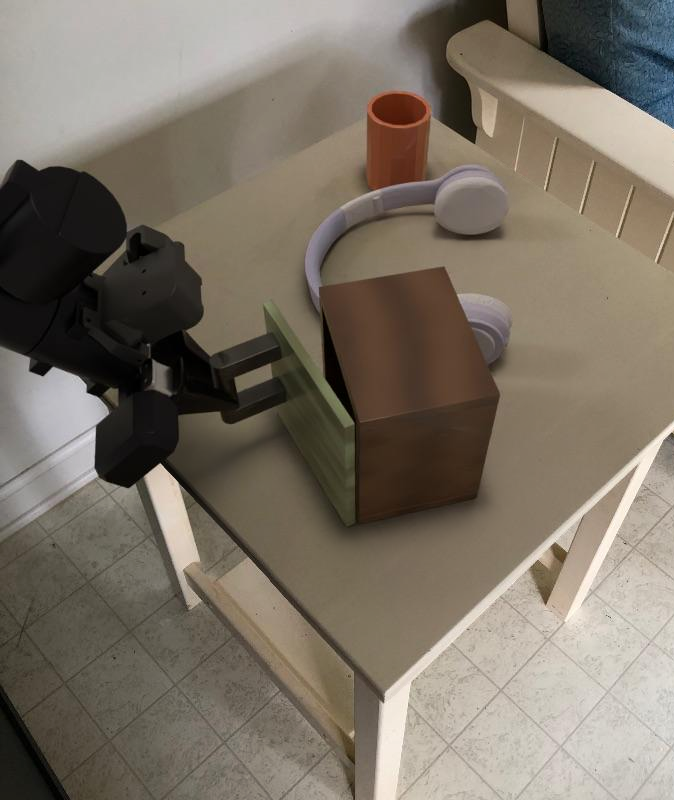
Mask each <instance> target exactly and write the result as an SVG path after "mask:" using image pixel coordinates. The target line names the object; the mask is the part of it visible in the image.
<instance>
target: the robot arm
mask: <svg viewBox="0 0 674 800" xmlns="http://www.w3.org/2000/svg"><path fill="white" fill-rule="evenodd" d="M124 242H125V250H124V251H123V252H122V253H121V254H120V255H119V256H118V258H116V260H114V262H113V263H112V264H111V265H110V266H108V268H107V269H106V270H105V271H104V272H103V273H102V274H97V273H95V272H94V271H96V270H97V269H99V267H100V266H101V265H103V264H104V263H105V262H106V261H107V260H108V259H109V258H110V257H111V256H112V255H114V254H115V252H117V251H118V250H119V249H121V247H122V246H123V244H124ZM185 250H186V248H185V244H184V243H183V242H182V241H179V240H178V241H173V239H172V238H171V237H170V236H169V235H168V234H166V233H164V232H162V231H160V230H157V229H155V228H152V227H150V226H147V225H146V224H140V225H138V226H136V227H134V228H131V229H130V230H128V223H127V219H126V215H125V213H124V210H123V209H122V206H121V204H120V203H119V201H118V200H117V198H116V197H115V196H114V194H113V193H112V192H111V190H109V188H108V187H106V185H105V184H103V183H102V182H101V181H100V180H98V178H96V177H95V176H94V175H91V174H90V173H89V172H87V171H84V170H83V171H78V170H76V169H74V168H71V167H67V166H62V165H52V166H51V165H50V166H47V167H44V168H41V169H40V170H39V169H37V168H36V167H35V166H32V165H31V164H29V163H28V162H27V161H25V160H23V159H16V160H15V161H14V162H13V164H12V165H11V166H10V167H9V168H8V169H7V171H6V173H5V175H4V177H3V179H2V181H1V183H0V347H1V348H3V349H6V350H8V351H11V352H13V353H16V354H19V355H21V356H24V357H26V358H28V359H29V365H28V372H29V373H32V374H35V375H37V376H40V377H45V376H46V375H47V374H48V373H49V372H50V371H51V370H52V369H53V368H56V369H57V370H60V371H63V372H65V373H67V374H71V375H74V376H76V377H78V378H81V379H84V380H86V391H85V393H86V394H89V395H91V396H94V397H97V398H101V397H102V396H103V395H104V394H105V393H106V392H107V391H108V390H109V389H112V390H116V391H117V396H116V407H115V408H114V409H113V410H111V411H110V412H109V413H108V414H107V415H106V416H105V417H104V418H103V419H102V420H100V421H99V422H98V423H97V424H96V425H95V439H94V440H95V441H94V444H95V445H94V464H93V465H94V467H93V468H94V470H95V473H96V474H97V476H98V478H99V479H100V480H101V481H104V482H106V483H108V484H112V485H115V486H118V487H122V488H125V489H130V488H132V487H133V486H134V485H135V484H137V483H138V482H139V481H140V480H142V479H143V478H145V476H147V475H148V474H149V473H150V472H151V471H153V470H154V469H155V468H156V467H158V466H159V465H160V464H161V463H163V462H164V461H165V460H167V458H169V457H170V456H171V455H172V454H174V453H175V451H176V449H177V446H178V444H179V442H180V426H179V416H186V415H198V414H207V413H218V412H219V413H220V411H228V410H230V409H232V408H233V407H234V406H235V405H236V400H235V399H234V398H232V397H231V396H229V395H228V394H226V393H224V392H223V391H221V390H219V389H216V388H214V383H213V379H212V374H211V370H210V365H209V359H210V357H211V355H210V354H209V353H208V352H206V351H205V350H204V349H203V348H202V346H200V345H199V343H197V341H196V340H195V339H194V338H193V337H192V336H191V335H190V334H189V332H188V330H191V329H193V328H194V327H196V326H197V325H198V324H199V323H200V322H201V321H202V319H203V317H204V315H205V314H204V313H205V309H204V308H205V307H204V304H203V300H202V286H203V279H202V277H201V276H200V274H199V273H198V272H197V271H196V270H195V269H194V268H193V267H192V266H191V265H190V263H188V262H187V260H186V251H185Z"/></svg>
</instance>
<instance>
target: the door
mask: <svg viewBox="0 0 674 800" xmlns="http://www.w3.org/2000/svg"><path fill="white" fill-rule="evenodd" d="M262 309H263V315H264V324H265V332H266V333H264V334H262V335H259V336H256V337H254V338H252V339H249V340H246V341H244V342H240V343H238V344H236V345H233V346H231V347H228V348H225V349H223V350H221V351H220V350H219V351H218V352H215V353H213V354H212V355H210V359H209V365H210V370H211V374H212V379H213V383H214V388H216V389H219V390H221V391H223V392H224V393H226V394H228V395H229V396H231V397H232V398H234V399H235V400H236V405H235V406H234V407H233V408H232V409H230V410H228V411H220V412H219V414H220V418H221V421H222V422H224V423H225V424H227V425H235V424H237V423H239V422H242V421H245V420H246V419H250V418H251V417H253V416H256V415H258V414H261V413H263V412H266V411H268V410H270V409H272V408H275V407H276V413H277V414H278V416H279V418H280V420H281V421H282V423H283V425H284V426H285V428H286V429H287V431H288V432H289V435H290V436H291V438H292V439H293V441H294V443H295V445H296V446H297V447H298V449H299V452H300V453H301V454H302V456H303V458H304V459H305V461H306V462H307V464H308V466H309V467H310V469H311V471H312V473H313V474H314V476H315V477H316V479H317V480H318V482H319V484H320V486H321V488H322V489H323V490H324V492H325V494H326V496H327V498H328V499H329V501H330V502H331V504H332V506H333V507H334V508H335V511H336V512H337V514H338V515H339V517H340V519H341V520H342V522H343V524H344V525H345V527H347V528H348V527H350V526H352V525H354V524H356V511H355V423H354V422H353V420H352V419H351V417H350V416H349V414H348V413H347V411H346V410H345V408H344V407H343V405H342V404H341V402H340V401H339V399H338V398H337V396H336V395H335V393H334V392H333V390H332V389H331V387H330V386H329V384H328V383H327V381H326V380H325V378H324V377H323V373H322V372H321V371H320V369H319V368H318V366H317V364H316V363H315V362H314V360H313V359H312V357H311V355H310V354H309V353H308V351H307V350H306V348H305V347H304V345H303V343H302V342H301V340H300V339H299V338H298V336H297V335H296V333H295V332H294V330H293V328H292V327H291V326H290V324H289V323H288V321H287V320H286V318H285V317H284V315H283V314H282V312H281V311H280V309H279V308H278V306H277V305H276V303H275V301H274V300H273V299H270V300H268V301H264V302H263V303H262ZM267 365H270V371H271V376H272V377H271V378H269V379H267V380H265V381H262V382H260V383H257V384H255V385H252V386H250V387H248V388H245V389H243V390H240V391H238V390H237V389H238V388H237V384H236V379H235V378H238V377H240V376H243V375H245V374H247V373H250V372H253V371H255V370H258V369H260V368H262V367H265V366H267Z"/></svg>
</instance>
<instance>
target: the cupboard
mask: <svg viewBox="0 0 674 800" xmlns="http://www.w3.org/2000/svg"><path fill="white" fill-rule="evenodd" d="M457 294H458V293H457V291H456V289H455V287H454V284H453V283H452V280H451V278H450V276H449V274H448V271H447V269H446V267H445V266H438V267H431V268H425V269H420V270H419V269H418V270H414V271H413V270H412V271H408V272H402V273H395V274H389V275H384V276H377V277H371V278H365V279H359V280H353V281H347V282H341V283H335V284H329V285H322V287H319V302H320V313H319V318H320V319H319V320H320V337H321V338H320V340H321V356H322V357H321V358H322V375H323V377H324V378H325V380H326V381H327V383H328V384H329V386H330V387H331V389H332V390H333V392H334V393H335V395H336V396H337V398H338V399H339V401H340V402H341V404H342V405H343V407H344V408H345V410H346V411H347V413H348V414H349V416H350V417H351V419H352V420H353V422H354V423H355V515H356V518H357V522H358V524H360V525H361V524H365V523H370V522H374V521H379V520H383V519H389V518H392V517H397V516H402V515H406V514H410V513H415V512H419V511H424V510H428V509H433V508H438V507H443V506H447V505H450V504H455V503H459V502H460V503H461V502H464V501H468V500H473V499H477V498H478V495H479V492H480V491H479V490H480V487H481V486H480V485H481V481H482V478H483V473H484V469H485V464H486V460H487V455H488V452H489V451H488V450H489V447H490V442H491V438H492V433H493V429H494V423H495V419H496V415H497V412H498V406H499V403H500V398H501V393H500V391H499V388H498V385H497V383H496V381H495V378H494V376H493V374H492V372H491V370H490V367H489V364H488V365H487V363H486V360H485V358H484V356H483V354H482V351H481V349H480V347H479V344H478V342H477V340H476V337H475V335H474V333H473V331H472V328H471V326H470V324H469V321H468V319H467V317H466V315H465V312H464V310H463V308H462V305H461V303H460V301H459V299H458V296H457Z"/></svg>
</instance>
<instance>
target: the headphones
mask: <svg viewBox="0 0 674 800" xmlns="http://www.w3.org/2000/svg"><path fill="white" fill-rule="evenodd" d="M424 205H433V214H434V217H435V220H436V222H437V223H438V224H439V225H440V226H441V227H442V228H444V229H446V230H448V231H450V232H452V233H455V234H460V235H465V236H466V235H469V236H470V235H480V234H486V233H488V232H491V231H493V230H495V229H497V228H498V227H500V225H501V224H502V223H503V222H504V221H505V220H506V217H507V215H508V214H509V211H510V210H509V209H510V199H509V196H508V192H507V190H506V188H505V185H504V184H503V182H502V181H501V180H500V179H499V178H498V177H497V176H496V175H495V173H494V172H492V170H490V169H488V168H487V167H484V166H481V165H479V164H463V165H459V166H457V167H454V168H452V169H450V170H449V171H448V172H446V173H444V174H443V175H442V176H441V177H438V178H435V179H432V180H431V179H430V180H425V181H421V182H411V183H404V184H399V185H394V186H389V187H386V188H382V189H379V190H375V191H372V190H371V191H370V192H369V191H368V192H367V193H365V194H362V195H360V196H357V197H356V198H354V199H352V200H350V201H348V202H346V203H345V204H343V205H342V206H340V207H338V208H337V209H336V210H334V211H333V212H332V213H331V214H329V215H328V217H326V218H325V219H324V220H323V221H322V222H321V223H320V225H318V227H317V229H316V230H315V231H314V233H313V235H312V236H311V238H310V239H309V240H310V241H309V242H308V245H307V249H306V251H305V258H304V268H305V269H304V270H305V275H306V280H307V286H308V288H309V289H308V290H309V293H310V296H311V300H312V303H313V304H314V307H315V308H316V311H317V312H318V313H319V314H320V302H319V287H322V286H323V283H322V282H323V281H322V278H321V267H322V264H323V261H324V260H325V257H326V254H327V253H328V251H329V249H330V247H331V246H332V245H333V243H334V242H335V241H336V240H337V239H338V238H339V237H341V235H343V234H344V233H346V231H347V230H348V229H350V228H351V227H353V226H355V225H356V224H358V223H360V222H362V221H364V220H367V219H369V218H370V217H373V216H376V215H380V214H382V213H386V212H388V211H393V210H396V209H402V208H407V207H414V206H424ZM456 294H457V296H458V299H459V301H460V303H461V305H462V308H463V310H464V312H465V315H466V317H467V319H468V321H469V324H470V326H471V328H472V331H473V333H474V335H475V337H476V340H477V342H478V344H479V347H480V349H481V351H482V354H483V356H484V358H485V360H486V363H487V365H488V366H489V365H491V364H492V363H493V362H495V361H496V360H497V359H498V358H499V357H500V356H501V355H502V352H503V351H504V347H505V348H506V347H507V346H508V345H509V342H510V337H511V328H512V326H513V315H512V312H511V310H510V309H509V307H508V306H507V304H505V303H504V302H503V301H501V300H500V299H497V298H495V297H492V296H489V295H484V294H480V293H456Z"/></svg>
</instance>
